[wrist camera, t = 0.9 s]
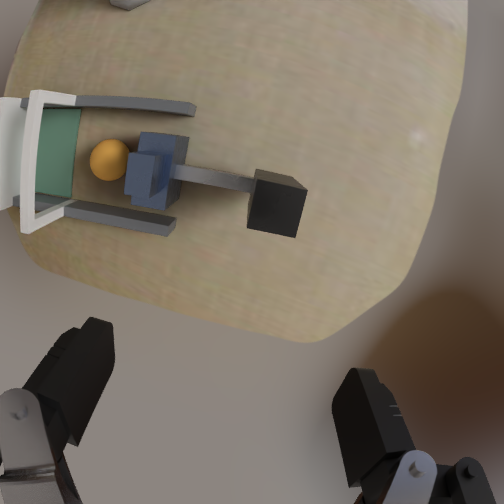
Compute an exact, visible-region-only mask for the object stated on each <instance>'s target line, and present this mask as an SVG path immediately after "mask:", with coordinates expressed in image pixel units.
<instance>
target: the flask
mask: <svg viewBox="0 0 504 504" xmlns="http://www.w3.org/2000/svg"><path fill="white" fill-rule="evenodd" d="M148 1H150V0H110V3H111V5H114V6H117V7H121V8H124V9H127V10H132V9H134V8H136V7H138V6H139V5H141V4H144V3H146V2H148Z"/></svg>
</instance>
